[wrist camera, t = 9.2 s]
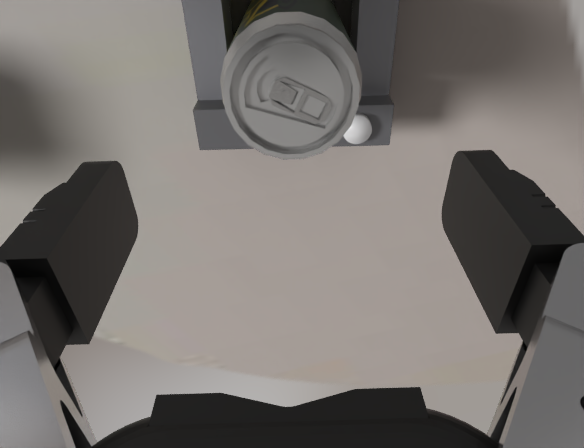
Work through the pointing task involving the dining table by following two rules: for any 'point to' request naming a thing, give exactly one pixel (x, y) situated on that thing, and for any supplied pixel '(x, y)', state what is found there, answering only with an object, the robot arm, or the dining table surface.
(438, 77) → the dining table surface
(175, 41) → the dining table surface
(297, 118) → the beer can
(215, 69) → the grey square frame
